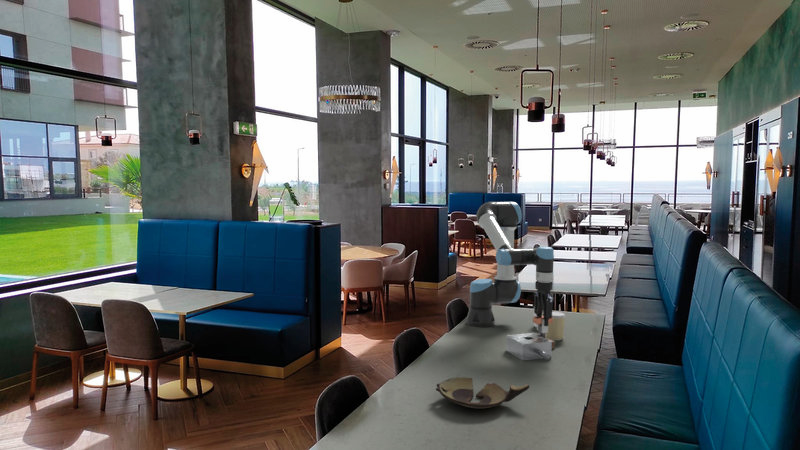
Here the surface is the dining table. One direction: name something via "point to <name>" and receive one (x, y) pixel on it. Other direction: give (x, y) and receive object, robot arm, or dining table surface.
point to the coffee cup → (556, 326)
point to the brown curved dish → (462, 393)
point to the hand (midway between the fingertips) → (542, 331)
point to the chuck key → (540, 324)
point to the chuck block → (529, 346)
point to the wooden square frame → (552, 342)
